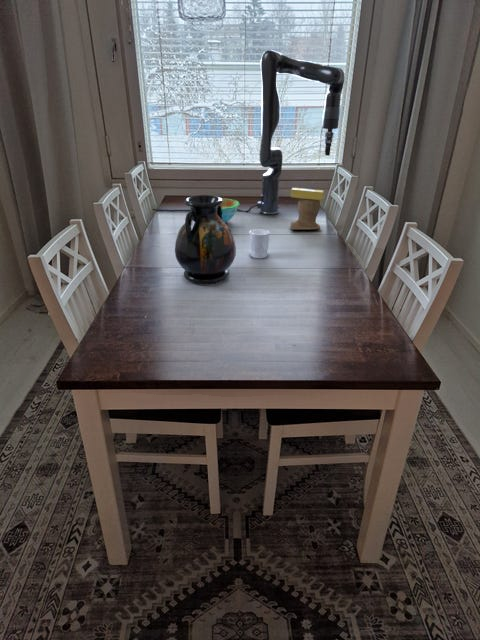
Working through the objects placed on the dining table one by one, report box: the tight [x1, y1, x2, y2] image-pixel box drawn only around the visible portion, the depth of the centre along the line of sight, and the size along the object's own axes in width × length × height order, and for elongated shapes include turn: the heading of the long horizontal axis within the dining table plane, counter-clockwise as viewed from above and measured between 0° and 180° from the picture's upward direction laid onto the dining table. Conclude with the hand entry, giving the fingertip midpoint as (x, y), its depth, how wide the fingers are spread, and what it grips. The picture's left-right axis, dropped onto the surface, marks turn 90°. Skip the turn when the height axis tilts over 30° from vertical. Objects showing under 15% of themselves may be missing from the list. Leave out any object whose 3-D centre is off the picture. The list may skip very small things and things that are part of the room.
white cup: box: [249, 228, 271, 259], centre depth 166 cm, size 8×8×10 cm
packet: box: [290, 187, 325, 201], centre depth 193 cm, size 15×6×4 cm, turn 80°
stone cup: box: [289, 198, 321, 231], centre depth 198 cm, size 15×12×15 cm
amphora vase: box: [174, 194, 237, 286], centre depth 143 cm, size 22×22×28 cm
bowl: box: [220, 197, 240, 224], centre depth 207 cm, size 22×22×10 cm
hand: (327, 154), depth 201 cm, fingers open, 8 cm apart
